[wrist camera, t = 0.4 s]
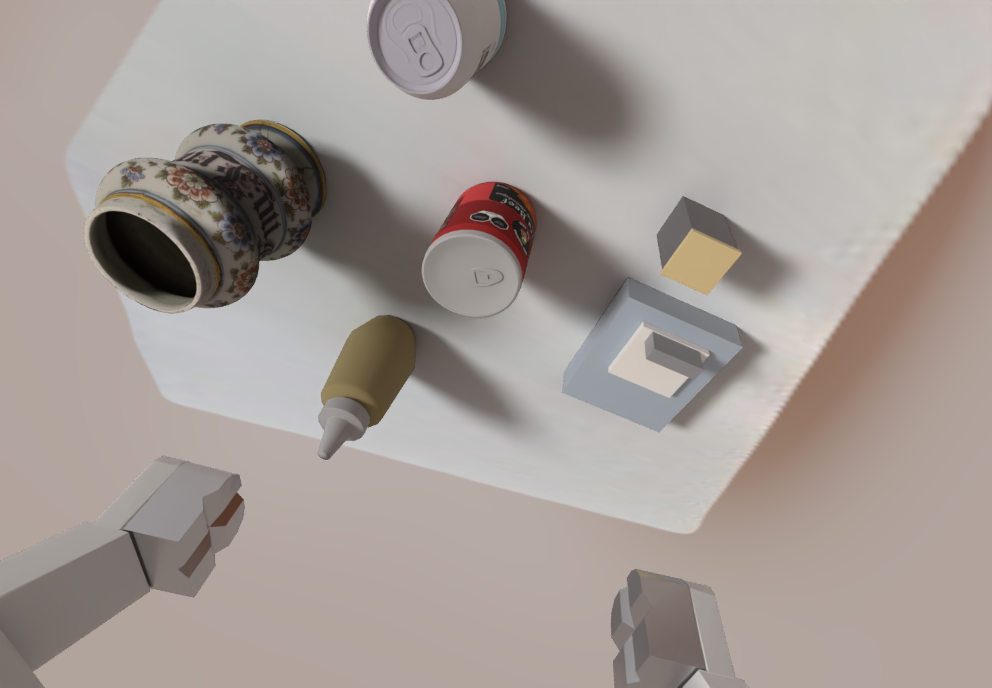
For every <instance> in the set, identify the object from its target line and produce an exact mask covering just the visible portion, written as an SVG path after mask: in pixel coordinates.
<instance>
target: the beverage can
mask: <svg viewBox="0 0 992 688" xmlns="http://www.w3.org/2000/svg"><path fill="white" fill-rule="evenodd" d="M506 18H507V16H506V6H505V2H504V0H371V1H370V5H369V9H368V17H367V34H368V42H369V47H370V50H371V53H372V56H373V58H374V61H375V63H376V65H377V66H378V68H379V69H380V71H381V72H382V74H383V75H384V76H385V77H386V78H387V79H388V80H389V81H390V82H391V83H392V84H394V85H395V86H396V87H397V88H399V89H400V90H402V91H403V92H405V93H407V94H409V95H411V96H414V97H417V98H420V99H428V100H434V99H440V98H444V97H447V96H449V95H452V94H453V93H455V92H456V91H458V90H459V89H460V88H462V87H463V86H464V85H465V84H466V83H467V82H468V81H469V80H470V79H471V78H472V77H473V76H474V75H475V74H476V73H477V72H478V71H479V70H480V69H481V68H482V67H484V66H485V65H486V64H487V63H488V62H489V61H490V60H491V59H492V58H493V57H494V55H495V54H496V53H497V51H498V50H499V48H500V46H501V43H502V41H503V38H504V35H505V30H506Z"/></svg>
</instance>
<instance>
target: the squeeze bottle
mask: <svg viewBox="0 0 992 688" xmlns="http://www.w3.org/2000/svg"><path fill="white" fill-rule="evenodd" d="M414 367H415V336H414V333H413V331H412V329H411V328H410V327H409V326H408V325H407V324H406V323H405V322H403V321H402V320H400V319H398V318H396V317H392V316H389V315H384V316H377V317H375V318H374V319H372V320H370V321H368V322H367V323H365V324H363V325H362V326H360V327H358V328H357V329H355V330H353V331H352V332H351V334H350V335H349V337H348V339H347V340H346V343H345V345H344V347H343V349H342V351H341V353H340V355H339V357H338V359H337V361H336V363H335V365H334V367H333V369H332V371H331V374H330V376H329V378H328V380H327V382H326V384H325V386H324V388H323V390H322V392H321V399H322V403H323V405H324V407H323V408H322V410H321V412H320V413H319V415H318V419H319V423H320V425H321V426H322V428H323V429H324V433H323V437H322V440H321V444H320V447H319V451H318V455H319V457H320V458H322V459H325V460H328V459H330V458H331V456H332V455H333V454H334V453H335V452H336V451H337V450H338V449H339V448H340V446H341V445H342V444H343V443H344V442H345V441H354V440H357V439H360V438H361V437H362V436H363V435H364V433H365V431H366V429H367V427H371V426H374V425H376V424H378V423H379V422H380V420H381V419H382V418H383V416H384V415H385V413H386V412H387V410H388V409H389V407H390V405H391V404H392V402H393V401H394V399H395V398H396V396H397V395H398V393H399V391H400V390H401V388H402V387H403V385H404V384H405V382H406V381H407V379H408V377H409V376H410V374H411V373H412V371H413V370H414Z"/></svg>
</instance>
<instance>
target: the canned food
mask: <svg viewBox="0 0 992 688" xmlns="http://www.w3.org/2000/svg"><path fill="white" fill-rule="evenodd" d="M535 231H536V216H535V212H534V210H533V208H532V205H531V203H530V202H529V200H528V199H527V198H526V196H525V195H524V194H523V193H522V192H521V191H519V190H518V189H516V188H515V187H513V186H511V185H508V184H505V183H501V182H486V183H481V184H478V185H476V186H473V187H471V188H469V189H468V190H466V191H465V192H464V193H463V194H462V195H461V196H460V197H459V199H458V200H457V202H456V203H455V205H454V207H453V208H452V210H451V212H450V213H449V215H448V216H447V218H446V220H445V221H444V223H443V225H442V226H441V228H440V230H439V231H438V233H437V234H436V236H435V238H434V239H433V241H432V243H431V244H430V246H429V248H428V250H427V252H426V254H425V257H424V260H423V263H422V277H423V282H424V284H425V287H426V289H427V290H428V292H429V294H430V295H431V296H432V297H433V298H434V300H435V301H436V302H437V303H439V304H440V305H441V306H443V307H444V308H445V309H447V310H449V311H451V312H453V313H456V314H458V315H461V316H466V317H474V318H481V317H489V316H492V315H496V314H498V313H500V312H502V311H504V310H505V309H506V308H508V307H509V306H510V305H511V304H512V303H513V302H514V300H515V299H516V297H517V295H518V293H519V291H520V289H521V285H522V282H523V279H524V275H525V271H526V267H527V263H528V259H529V255H530V251H531V247H532V243H533V239H534V235H535Z"/></svg>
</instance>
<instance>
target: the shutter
mask: <svg viewBox="0 0 992 688" xmlns="http://www.w3.org/2000/svg"><path fill="white" fill-rule="evenodd" d="M709 355H710V354H709V350H708V349H706V348H703V347H701V346H699V345H696V344H694V343H692V342H689V341H687V340H685V339H683V338H680V337H678V336H676V335H673V334H671V333H669V332H667V331H664V330H662V329H660V328H657V327H655V326H653V325H650V324H648V323H646V322H644V321H643V322H642V324H641V325H640V326H639V328H638V329H637V330H636V332H635V333H634V334H633V335H632V337H631V338H630V339H629V341H628V342H627V343H626V345H625V346H624V347H623V349H622V350H621V351H620V353H619V354H618V355H617V357H616V358H615V359H614V361H613V362H612V363H611V364H610V366H609V367H608V372H609V373H611V374H613V375H616V376H618V377H620V378H623V379H625V380H628V381H630V382H632V383H635V384H637V385H639V386H642V387H644V388H647V389H649V390H651V391H654V392H656V393H658V394H661V395H663V396H666V397H668V398H670V397H671V396H672V395H673V394H674V393H675V392H676V390H677V389H678V388H679V387H680V386H681V385H682V384H683V383H684V382H685V381H686V380H687V379H688V378H691V379H693V380H694V379H695V378H696V377H697V376H698V375H699V374H700V373H701V372H702V371H703V370H704V369H703V365H702V363H703V362H704V361H705V359H706V358H707V357H708V356H709Z"/></svg>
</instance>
